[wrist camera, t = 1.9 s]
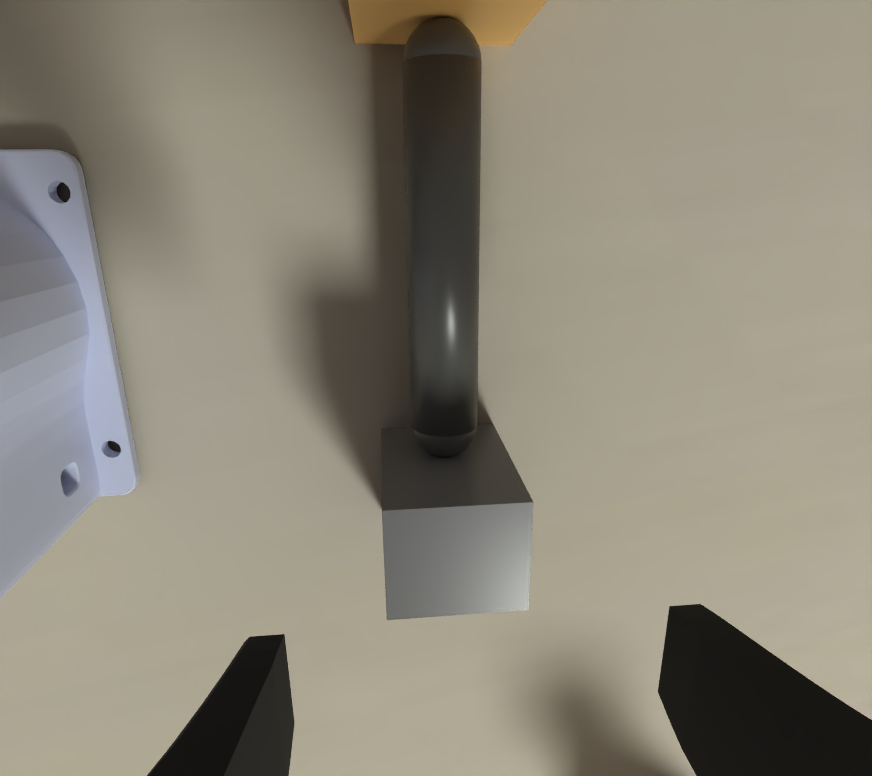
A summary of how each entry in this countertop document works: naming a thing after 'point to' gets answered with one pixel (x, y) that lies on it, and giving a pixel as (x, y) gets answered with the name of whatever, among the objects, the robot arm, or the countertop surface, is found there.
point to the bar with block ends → (447, 328)
